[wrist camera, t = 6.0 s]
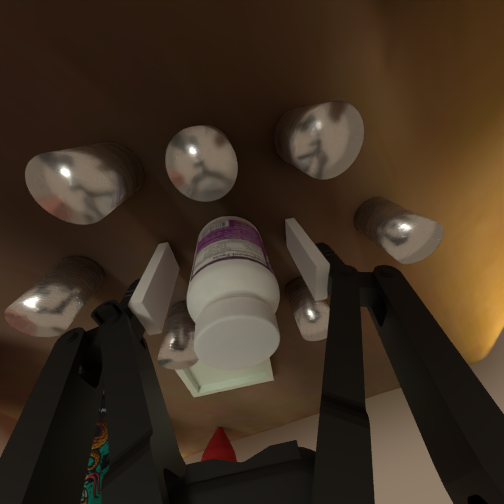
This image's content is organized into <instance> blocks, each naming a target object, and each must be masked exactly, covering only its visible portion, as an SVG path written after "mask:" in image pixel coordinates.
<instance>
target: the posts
mask: <svg viewBox="0 0 504 504" xmlns="http://www.w3.org/2000/svg"><path fill="white" fill-rule="evenodd" d="M363 139H364V125H363V120H362V117H361V115H360V113H359V112H358V110H357V109H356V108H355V107H354V106H352V105H351V104H349V103H347V102H343V101H332V102H327V103H322V104H316V105H311V106H305V107H300V108H295V109H292V110H290V111H288V112H286V113H285V114H284V115H283V116H282V117H281V118H280V119H279V121H278V123H277V125H276V127H275V130H274V135H273V143H274V148H275V150H276V152H277V154H278V155H279V157H280V158H281V159H283V160H284V161H286V162H288V163H289V164H291V165H293V166H294V167H296V168H298V169H299V170H301V171H303V172H304V173H306V174H308V175H309V176H311V177H313V178H316V179H330V178H334V177H336V176H338V175H340V174H341V173H343V172H344V171H345V170H347V169H348V168H349V167H350V166H351V165H352V163H353V162H354V161H355V159H356V158H357V156H358V154H359V152H360V150H361V147H362V143H363ZM165 163H166V169H167V173H168V175H169V178H170V180H171V181H172V183H173V184H174V186H175V187H176V188H177V189H178V190H179V191H180V192H181V193H182V194H184V195H185V196H187V197H189V198H191V199H193V200H197V201H202V202H208V201H214V200H217V199H220V198H221V197H223V196H224V195H226V194H227V193H228V192H229V191H230V190H231V188H232V187H233V185H234V183H235V181H236V177H237V172H238V164H237V158H236V155H235V152H234V150H233V148H232V145H231V143H230V141H229V139H228V138H227V136H226V135H225V134H224V133H223V132H222V131H221V130H220V129H218V128H216V127H214V126H211V125H199V126H192V127H188V128H185V129H183V130H181V131H180V132H178V133H177V134H176V135H175V136H174V137H173V138H172V140H171V141H170V143H169V145H168V147H167V151H166V157H165ZM25 180H26V184H27V187H28V189H29V191H30V193H31V195H32V196H33V198H34V199H35V200H36V201H37V203H38V204H39V205H40V206H41V207H43V208H44V209H45V210H46V211H47V212H49V213H50V214H52V215H54V216H55V217H57V218H59V219H61V220H64V221H66V222H70V223H74V224H81V225H87V224H93V223H96V222H98V221H100V220H102V219H103V218H104V217H106V216H107V215H108V214H109V213H110V212H112V211H113V210H114V209H115V208H117V207H118V206H119V205H120V204H121V203H123V202H124V201H125V200H126V199H128V198H129V197H130V196H131V195H132V194H134V193H135V192H136V191H137V190H138V189H140V187H141V186H142V184H143V181H144V170H143V167H142V164H141V162H140V161H139V159H138V158H137V157H136V155H135V154H134V153H133V152H132V151H130V150H129V149H128V148H126V147H124V146H122V145H120V144H117V143H113V142H104V143H98V144H93V145H87V146H81V147H75V148H70V149H64V150H58V151H52V152H46V153H42V154H39V155H37V156H35V157H34V158H32V159H31V160H30V161H29V163H28V164H27V167H26V170H25ZM354 225H355V227H356V228H357V229H358V230H359V231H360V232H361V233H363V234H364V235H365V236H367V237H368V238H369V239H370V240H372V241H373V242H374V243H376V244H377V245H378V246H379V247H381V248H382V249H383V250H385V251H386V252H387V253H388V254H390V255H391V256H392V257H393V258H395V259H396V260H397V261H399V262H400V263H403V264H411V263H415V262H418V261H420V260H422V259H424V258H426V257H427V256H429V255H430V254H431V253H432V252H433V251H434V250H435V249H436V248H437V247H438V246H439V244H440V242H441V240H442V238H443V233H444V231H443V227H442V226H441V225H440V224H439V223H437V222H434V221H432V220H430V219H428V218H426V217H424V216H422V215H419V214H417V213H415V212H413V211H411V210H409V209H406V208H404V207H402V206H400V205H398V204H396V203H393V202H391V201H389V200H387V199H385V198H382V197H375V198H372V199H369V200H367V201H366V202H364V203H363V204H362V205H361V206H360V207H359V209H358V210H357V212H356V214H355V216H354ZM103 279H104V272H103V270H102V268H101V267H100V266H99V265H98V264H97V263H96V262H94V261H93V260H91V259H88V258H85V257H81V256H70V257H66V258H64V259H63V260H62V261H61V262H60V263H58V264H57V265H56V266H55V267H54V268H53V269H51V270H50V271H49V272H48V273H47V274H46V275H45V276H43V277H42V278H41V279H40V280H39V281H38V282H37V283H35V284H34V285H33V286H32V287H31V288H30V289H28V290H27V291H26V292H25V293H24V294H23V295H22V296H20V297H19V298H18V299H17V300H16V301H15V302H14V303H12V304H11V305H10V306H9V307H8V308H7V309H6V310H5V312H4V318H5V320H6V321H7V323H8V324H9V325H10V326H12V327H13V328H14V329H16V330H18V331H20V332H22V333H25V334H28V335H32V336H38V337H53V336H57V335H60V334H62V333H64V332H65V331H66V329H67V328H68V327H69V325H70V324H71V323H72V321H73V320H74V319H75V317H76V316H77V315H78V313H79V312H80V311H81V309H82V308H83V307H84V305H85V304H86V303H87V301H88V300H89V299H90V297H91V296H92V294H93V293H94V292H95V290H96V289H97V288H98V286H99V285H100V284H101V282H102V281H103ZM285 293H286V296H287V298H288V301H289V304H290V306H291V309H292V311H293V314H294V317H295V319H296V322H297V325H298V327H299V330H300V332H301V335H302V337H303V338H304V339H306V340H308V341H319V340H322V339H325V338H327V332H328V321H329V311H330V308H329V306H328V304H327V303H326V301H325V299H324V300H319V301H315V300H314V298H313V296H312V294H311V292H310V290H309V288H308V286H307V285H306V283H305V281H304V279H303V277H299V278H296V279H294V280H292V281H291V282H290V283H289V284H288V285H287V286H286V289H285ZM195 324H196V323H195V322H194V321H193V319H192V318H191V316H190V314H189V311H188V308H187V301H180V302H177V303H175V304H174V305H173V306H172V307H171V310H170V314H169V317H168V321H167V325H166V329H165V332H164V336H163V340H162V344H161V347H160V351H159V355H158V362H159V364H160V365H162V366H163V367H165V368H168V369H173V370H181V369H187V368H190V367H192V366H193V365H195V364H196V363H197V361H198V357H197V356H196V354H195V351H194V335H195Z"/></svg>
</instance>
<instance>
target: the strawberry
mask: <svg viewBox="0 0 504 504" xmlns="http://www.w3.org/2000/svg"><path fill="white" fill-rule="evenodd" d="M210 459H220V460H227V461H233V462H237V460H236V455H235V452H234V449H233V447H232V445H231V443H230V441H229V439H228V438H227V436H226V434H225V432H224V430H223V429H222V428H218V429H217V430H216V431H215V434H214V435H213V437H212V438H211V440H210V441H209V443H208V445H207V447H206V449H205V451H204V453H203V456H202V460H201V461H205V460H210Z"/></svg>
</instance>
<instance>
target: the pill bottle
mask: <svg viewBox="0 0 504 504" xmlns="http://www.w3.org/2000/svg"><path fill="white" fill-rule="evenodd" d="M279 301H280V292H279V286H278V282H277V280H276V277H275V274H274V272H273V268H272V266H271V263H270V261H269V258H268V255H267V252H266V250H265V247H264V244H263V242H262V239H261V236H260V234H259V232H258V230H257V229H256V228H255V227H254V225H252V224H251V223H250V222H249V221H247V220H245V219H243V218H240V217H236V216H226V217H225V216H222V217H219V218H216V219H214V220H212V221H211V222H209V223H208V224H207V225H206V226H205V227H204V228H203V229H202V231H201V232H200V234H199V237H198V241H197V247H196V252H195V257H194V263H193V268H192V273H191V277H190V282H189V287H188V292H187V308H188V311H189V314H190V316H191V318H192V319H193V321H194V322H195V323H196V324H195V335H194V351H195V354H196V356H197V357H198V358H199V359H200V360H201V362H203V363H204V364H206V365H208V366H211V367H213V368H217V369H223V370H238V369H244V368H248V367H252V366H254V365H257V364H259V363H261V362H263V361H265V360H266V359H268V358H269V357H270V356H271V355H272V354H273V353H274V352H275V351H276V349H277V348H278V346H279V343H280V333H279V329H278V324H277V321H276V315H275V313H276V311H277V308H278V305H279Z"/></svg>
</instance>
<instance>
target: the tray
mask: <svg viewBox="0 0 504 504" xmlns="http://www.w3.org/2000/svg"><path fill="white" fill-rule="evenodd" d="M175 371H176V372H177V374H178V375H179V376H180V378H181V379H182V381H183V382H184V384H185V385H186V386H187V388H188V389H189V391H190V392H191V394H192V395H193V396H194V397H198V396H203V395H207V394H212V393H217V392H221V391H226V390H230V389H235V388H240V387H244V386H249V385H254V384H258V383H263V382H267V381H272V380H274V379H273V373H272V368H271V362H270V357H269V358H268V359H266V360H265V361H263V362H261V363H259V364H257V365H254V366H252V367H248V368H244V369H238V370H223V369H217V368H213V367H211V366H208V365H206V364H204V363H203V362H201V360H200V359H199V358H198V361H197V363H196V364H195V365H193V366H192V367H190V368H187V369H181V370H175Z"/></svg>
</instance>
